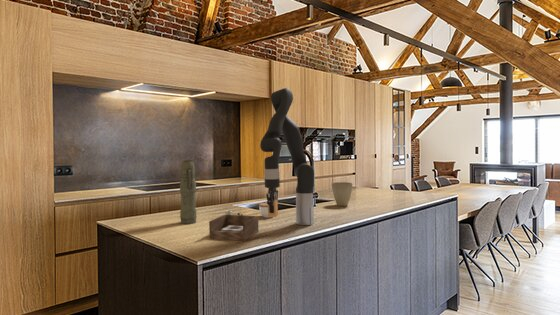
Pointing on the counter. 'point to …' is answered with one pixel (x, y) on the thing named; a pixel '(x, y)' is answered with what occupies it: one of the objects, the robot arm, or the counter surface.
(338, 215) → the counter surface
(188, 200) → the thermos
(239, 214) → the valve
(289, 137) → the robot arm
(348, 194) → the plant pot
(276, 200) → the orange rectangular block
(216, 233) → the inlet box
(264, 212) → the lidded jar
